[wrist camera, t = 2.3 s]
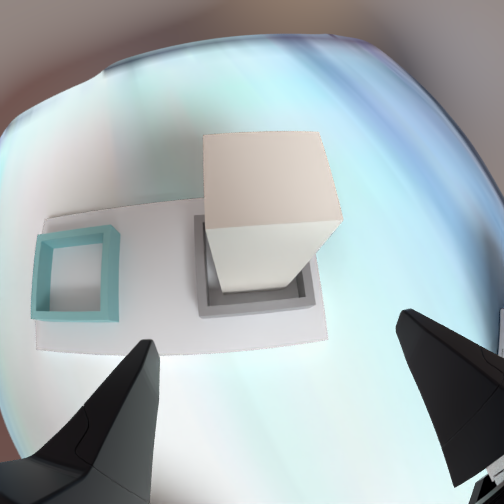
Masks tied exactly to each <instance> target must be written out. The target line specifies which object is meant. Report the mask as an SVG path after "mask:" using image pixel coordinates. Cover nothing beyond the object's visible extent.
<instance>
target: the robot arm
mask: <svg viewBox="0 0 504 504" xmlns="http://www.w3.org/2000/svg"><path fill="white" fill-rule="evenodd" d="M396 333H397V336H398V339H399V341H400V344H401V347H402V350H403V353H404V356H405V359H406V361H407V364H408V366H409V369H410V371H411V373H412V375H413V377H414V380H415V382H416V384H417V386H418V389H419V391H420V393H421V396H422V398H423V401H424V403H425V405H426V408H427V410H428V413H429V415H430V418H431V421H432V423H433V426H434V428H435V431H436V434H437V436H438V439H439V442H440V445H441V447H442V451H443V454H444V457H445V460H446V463H447V466H448V469H449V473H450V476H451V479H452V483H453V486H454V488H455V487H457V486H459V485H461V484H462V483H464V482H465V481H467V480H469V479H470V478H472V477H473V476H475V475H476V474H478V473H479V472H481V471H482V470H484V469H485V468H486V470H487V472H488V474H486V475H485V476H484V477H482V478H481V479H480V480H479V481H477V482H476V483H475V486H474V489H473V492H472V495H471V498H470V501H469V504H504V358H502V357H500V356H498V355H496V354H494V353H492V352H491V351H489V350H487V349H485V348H483V347H482V346H479V345H478V344H476V343H474V342H472V341H471V340H469V339H467V338H465V337H463V336H461V335H460V334H458V333H456V332H454V331H452V330H450V329H449V328H447V327H445V326H443V325H441V324H439V323H437V322H436V321H434V320H432V319H430V318H428V317H426V316H424V315H423V314H421V313H419V312H417V311H415V310H413V309H406V310H402V311H401V313H400V316H399V319H398V322H397V324H396ZM159 374H160V357H159V354H158V351H157V348H156V346H155V343H154V341H153V340H152V339H142V340H140V341H139V342H138V343H137V344H136V346H135V347H134V348H133V349H132V350H131V351H130V352H129V353H128V355H127V356H126V357H125V358H124V359H123V360H122V361H121V362H120V364H119V365H118V366H117V367H116V368H115V369H114V370H113V371H112V373H111V374H110V375H109V376H108V377H107V378H106V379H105V381H104V382H103V383H102V384H101V385H100V386H99V387H98V389H97V390H96V391H95V392H94V393H93V394H92V395H91V397H90V398H89V399H88V400H87V401H86V402H85V404H84V406H82V407H81V408H80V409H79V410H78V412H77V413H76V414H75V415H74V416H73V417H72V418H71V419H70V421H69V422H68V423H67V424H66V425H65V426H64V427H63V428H62V429H61V430H60V431H59V432H58V433H57V434H55V435H54V436H53V437H52V438H51V439H50V440H49V441H48V442H47V443H46V444H45V445H44V446H43V447H42V448H41V449H40V450H38V451H37V452H36V453H35V454H33V455H31V456H29V457H27V458H24V459H19V460H13V461H7V462H1V463H0V504H150V503H149V502H150V488H151V473H152V460H153V449H154V439H155V429H156V420H157V412H158V404H159Z"/></svg>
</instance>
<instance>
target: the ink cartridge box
mask: <svg viewBox="0 0 504 504" xmlns="http://www.w3.org/2000/svg"><path fill="white" fill-rule="evenodd" d="M498 356H500V357H502V358H504V308H501V310H500V337H499V351H498Z"/></svg>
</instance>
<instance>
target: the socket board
mask: <svg viewBox="0 0 504 504" xmlns="http://www.w3.org/2000/svg"><path fill="white" fill-rule="evenodd" d="M31 319H35V329H36V350H44V351H54V352H65V353H78V354H95V355H123V356H127V355H128V353H129V352H130V351H131V350H132V349H133V348H134V347H135V346H136V344H137V343H138V342H139V341H140V340H142V339H152V340H153V341H154V343H155V346H156V348H157V351H158V354H159V356H164V355H193V354H211V353H225V352H237V351H248V350H258V349H267V348H275V347H283V346H291V345H298V344H304V343H311V342H317V341H323V340H328V333H327V325H326V317H325V310H324V303H323V296H322V290H321V283H320V277H319V270H318V264H317V258H316V254H315V255H314V256H313V257H312V258H311V259H310V261H309V262H308V263H307V264H306V265H305V266H304V267H303V269H302V270H301V271H300V272H299V273H298V274H297V275H296V277H295V278H294V279H293V280H292V281H291V282H290V283H289V284H288V286H287V287H286V288H285V289H282V290H272V291H262V292H251V293H240V294H228V295H223V293H222V289H221V286H220V282H219V279H218V275H217V271H216V268H215V264H214V260H213V257H212V253H211V249H210V245H209V242H208V238H207V234H206V230H205V209H204V198H194V199H184V200H174V201H165V202H156V203H147V204H139V205H131V206H124V207H117V208H110V209H103V210H96V211H90V212H83V213H77V214H71V215H65V216H60V217H54V218H49V219H45V221H44V226H43V232H42V234H40V235H38V236H37V243H36V250H35V258H34V267H33V279H32V294H31Z"/></svg>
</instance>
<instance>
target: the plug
mask: <svg viewBox="0 0 504 504" xmlns="http://www.w3.org/2000/svg"><path fill="white" fill-rule="evenodd" d="M203 174H204V209H205V230H206V234H207V238H208V242H209V245H210V249H211V253H212V257H213V260H214V264H215V268H216V271H217V275H218V279H219V282H220V286H221V289H222V293H223V295H228V294H240V293H251V292H262V291H272V290H282V289H285V288H286V287H287V286H288V284H289V283H290V282H291V281H292V280H293V279H294V278H295V277H296V275H297V274H298V273H299V272H300V271H301V270H302V269H303V267H304V266H305V265H306V264H307V263H308V262H309V261H310V259H311V258H312V257H313V256H314V255H315V254H316V252H317V251H318V250H319V249H320V248H321V247H322V245H323V244H324V243H325V242H326V241H327V239H328V238H329V237H330V236H331V235H332V233H333V232H334V231H335V230H336V229H337V227H338V226H339V225H340V224H341V223H342V221H343V216H342V212H341V208H340V204H339V200H338V196H337V192H336V188H335V184H334V181H333V177H332V173H331V170H330V166H329V163H328V160H327V156H326V153H325V150H324V146H323V143H322V140H321V137H320V134H319V132H306V131H266V132H239V133H223V134H210V135H203Z"/></svg>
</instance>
